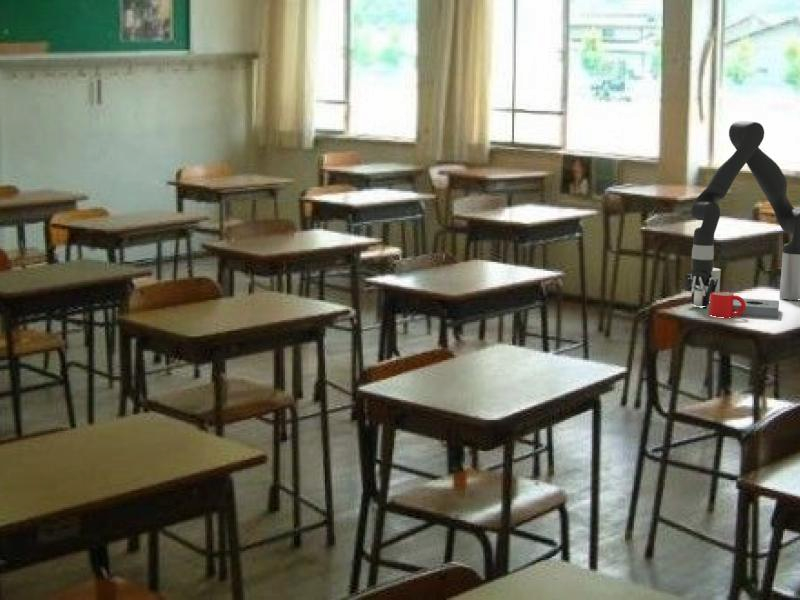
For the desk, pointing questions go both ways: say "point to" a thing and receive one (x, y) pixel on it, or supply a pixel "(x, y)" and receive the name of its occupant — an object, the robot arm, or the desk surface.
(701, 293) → the bushing
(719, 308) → the mug
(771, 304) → the block
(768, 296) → the desk surface
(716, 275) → the cup
